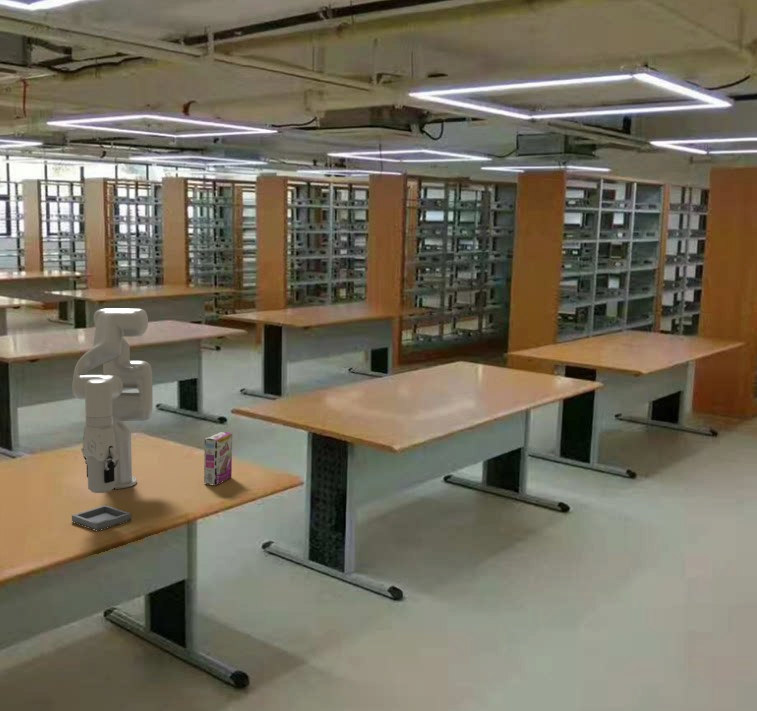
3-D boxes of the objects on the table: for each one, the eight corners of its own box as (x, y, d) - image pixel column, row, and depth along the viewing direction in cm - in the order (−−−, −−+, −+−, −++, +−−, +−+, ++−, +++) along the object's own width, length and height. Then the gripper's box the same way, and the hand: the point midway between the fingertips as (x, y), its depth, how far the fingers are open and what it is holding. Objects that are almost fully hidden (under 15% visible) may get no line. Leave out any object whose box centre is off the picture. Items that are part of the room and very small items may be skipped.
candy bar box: (216, 486, 285) (216, 440, 282) (203, 484, 287) (203, 438, 284) (232, 477, 295) (232, 432, 293) (220, 475, 297) (220, 431, 295)
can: (119, 490, 248) (118, 451, 246) (96, 495, 243) (95, 455, 241) (106, 484, 253) (105, 446, 251) (83, 489, 247) (82, 450, 246)
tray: (72, 522, 248) (71, 515, 247) (105, 511, 257) (105, 504, 257) (97, 531, 241) (97, 524, 241) (131, 520, 251) (131, 513, 250)
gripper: (70, 419, 246) (71, 476, 249) (107, 428, 237) (108, 488, 239) (91, 414, 252) (93, 471, 255) (129, 423, 243) (130, 482, 245)
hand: (100, 479), depth 247 cm, fingers closed on can, 7 cm apart
